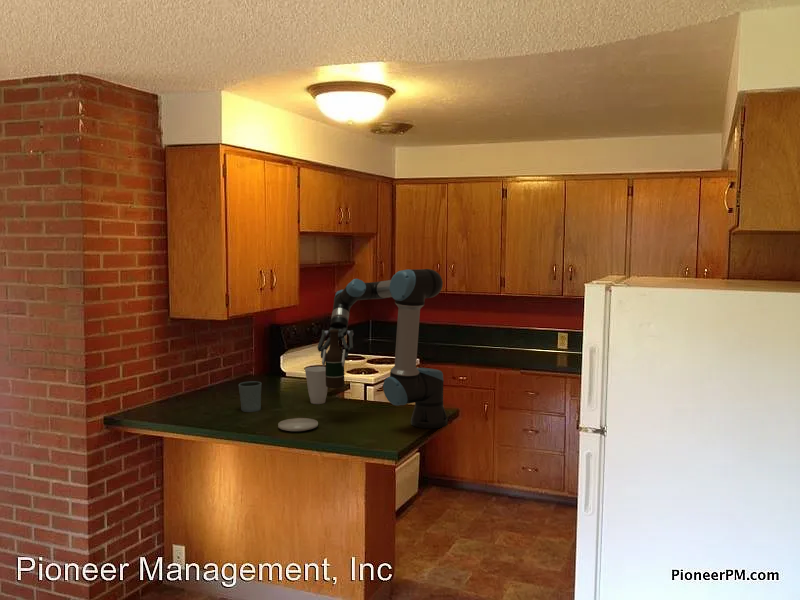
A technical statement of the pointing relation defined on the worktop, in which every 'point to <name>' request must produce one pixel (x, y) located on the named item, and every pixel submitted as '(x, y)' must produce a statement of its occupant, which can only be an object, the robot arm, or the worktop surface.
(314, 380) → the cup
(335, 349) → the beer bottle
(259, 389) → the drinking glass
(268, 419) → the worktop surface
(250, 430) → the worktop surface
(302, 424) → the dish
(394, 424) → the worktop surface
